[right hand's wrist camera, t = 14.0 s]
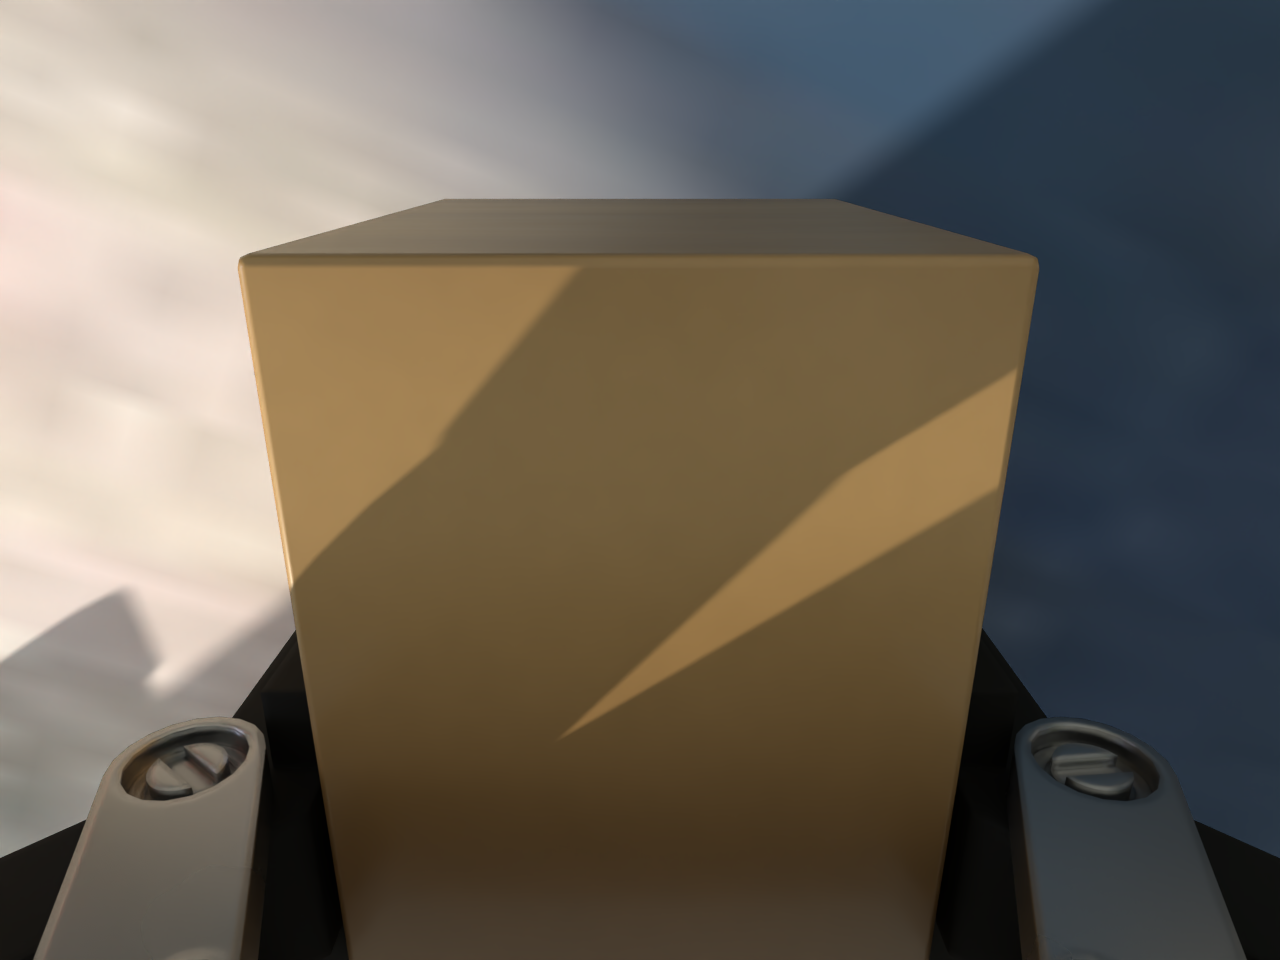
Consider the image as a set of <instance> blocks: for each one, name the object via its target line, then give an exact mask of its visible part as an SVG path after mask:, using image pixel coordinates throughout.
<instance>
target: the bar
mask: <svg viewBox="0 0 1280 960" xmlns="http://www.w3.org/2000/svg"><path fill="white" fill-rule="evenodd" d="M238 273H239V279H240V285H241V291H242V298H243V304H244V310H245V316H246V322H247V329H248V335H249V341H250V347H251V354H252V360H253V366H254V372H255V378H256V385H257V391H258V397H259V403H260V410H261V416H262V422H263V428H264V434H265V441H266V447H267V453H268V459H269V466H270V472H271V478H272V484H273V490H274V497H275V503H276V509H277V515H278V522H279V528H280V534H281V540H282V546H283V553H284V559H285V565H286V571H287V577H288V584H289V590H290V596H291V602H292V609H293V615H294V621H295V627H296V633H297V640H298V646H299V652H300V658H301V665H302V671H303V677H304V683H305V689H306V696H307V702H308V708H309V714H310V721H311V727H312V733H313V739H314V745H315V752H316V758H317V764H318V770H319V776H320V783H321V789H322V795H323V801H324V808H325V814H326V820H327V826H328V832H329V839H330V845H331V851H332V857H333V864H334V870H335V876H336V882H337V888H338V895H339V901H340V907H341V913H342V920H343V926H344V932H345V938H346V944H347V951H348V957H349V960H929V956H930V950H931V944H932V937H933V931H934V925H935V919H936V912H937V906H938V900H939V894H940V887H941V881H942V875H943V868H944V862H945V856H946V850H947V843H948V837H949V831H950V825H951V818H952V812H953V806H954V800H955V793H956V787H957V781H958V774H959V768H960V762H961V756H962V749H963V743H964V737H965V731H966V724H967V718H968V712H969V706H970V699H971V693H972V687H973V680H974V674H975V668H976V662H977V655H978V649H979V643H980V637H981V630H982V624H983V618H984V612H985V605H986V599H987V593H988V586H989V580H990V574H991V568H992V561H993V555H994V549H995V543H996V536H997V530H998V524H999V518H1000V511H1001V505H1002V499H1003V493H1004V486H1005V480H1006V474H1007V467H1008V461H1009V455H1010V449H1011V442H1012V436H1013V430H1014V424H1015V417H1016V411H1017V405H1018V399H1019V392H1020V386H1021V380H1022V373H1023V367H1024V361H1025V355H1026V348H1027V342H1028V336H1029V330H1030V323H1031V317H1032V311H1033V305H1034V298H1035V292H1036V286H1037V279H1038V273H1039V263H1038V259H1037V257H1034V256H1032V255H1030V254H1028V253H1024V252H1021V251H1017V250H1014V249H1010V248H1007V247H1003V246H1000V245H996V244H992V243H989V242H985V241H982V240H978V239H975V238H971V237H968V236H964V235H961V234H957V233H953V232H950V231H946V230H943V229H939V228H936V227H932V226H929V225H925V224H922V223H918V222H915V221H911V220H907V219H904V218H900V217H897V216H893V215H890V214H886V213H883V212H879V211H876V210H872V209H868V208H865V207H861V206H858V205H854V204H851V203H847V202H844V201H840V200H837V199H443V200H439V201H436V202H432V203H429V204H425V205H421V206H418V207H414V208H411V209H407V210H403V211H400V212H396V213H393V214H389V215H385V216H382V217H378V218H375V219H371V220H367V221H364V222H360V223H357V224H353V225H349V226H346V227H342V228H339V229H335V230H331V231H328V232H324V233H321V234H317V235H314V236H310V237H306V238H303V239H299V240H296V241H292V242H288V243H285V244H281V245H278V246H274V247H270V248H267V249H263V250H260V251H256V252H252V253H249V254H247V255H245V256H242V257H240V259H239V264H238Z"/></svg>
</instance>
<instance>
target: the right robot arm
mask: <svg viewBox="0 0 1280 960" xmlns="http://www.w3.org/2000/svg"><path fill="white" fill-rule="evenodd" d="M0 960H349V957H348V951H347V944H346V938H345V932H344V926H343V920H342V913H341V907H340V901H339V895H338V888H337V882H336V876H335V870H334V864H333V857H332V851H331V845H330V839H329V832H328V826H327V820H326V814H325V808H324V801H323V795H322V789H321V783H320V776H319V770H318V764H317V758H316V752H315V745H314V739H313V733H312V727H311V721H310V714H309V708H308V702H307V696H306V689H305V683H304V677H303V671H302V665H301V658H300V652H299V646H298V640H297V633H296V631H295V632H294V633H293V635H292V636H291V637H290V639H289V640H288V642H287V643H286V644H285V646H284V647H283V648H282V650H281V651H280V653H279V654H278V655H277V657H276V658H275V660H274V661H273V662H272V664H271V665H270V666H269V668H268V669H267V671H266V672H265V673H264V675H263V676H262V677H261V679H260V680H259V682H258V683H257V684H256V686H255V687H254V689H253V690H252V691H251V693H250V694H249V695H248V697H247V698H246V700H245V701H244V702H243V704H242V705H241V706H240V708H239V709H238V711H237V712H236V713H235V715H234V716H233V718H227V717H211V718H200V719H194V720H190V721H186V722H182V723H178V724H174V725H171V726H168V727H166V728H163V729H161V730H159V731H156V732H154V733H151V734H149V735H147V736H146V737H144V738H142V739H141V740H139V741H137V742H136V743H134V744H132V745H130V746H129V747H128V748H127V749H125V750H124V751H123V752H122V753H121V754H120V755H119V756H118V757H116V758H115V759H114V760H113V761H112V763H111V764H110V766H109V768H108V769H107V771H106V772H105V774H104V775H103V778H102V780H101V783H100V786H99V788H98V791H97V793H96V796H95V799H94V801H93V804H92V807H91V809H90V812H89V815H88V817H87V820H85V821H82V822H80V823H78V824H76V825H73V826H71V827H69V828H67V829H64V830H62V831H60V832H58V833H56V834H53V835H51V836H49V837H47V838H44V839H42V840H40V841H38V842H35V843H33V844H31V845H29V846H26V847H24V848H22V849H20V850H17V851H15V852H13V853H11V854H8V855H6V856H4V857H2V858H0ZM929 960H1280V858H1278V857H1276V856H1273V855H1271V854H1269V853H1267V852H1264V851H1262V850H1260V849H1258V848H1255V847H1253V846H1251V845H1249V844H1246V843H1244V842H1242V841H1240V840H1237V839H1235V838H1233V837H1231V836H1228V835H1226V834H1224V833H1222V832H1219V831H1217V830H1215V829H1213V828H1211V827H1208V826H1206V825H1204V824H1202V823H1199V822H1197V821H1195V820H1193V817H1192V815H1191V812H1190V809H1189V807H1188V804H1187V801H1186V799H1185V796H1184V794H1183V791H1182V788H1181V786H1180V783H1179V780H1178V778H1177V775H1176V774H1175V772H1174V771H1173V769H1172V768H1171V766H1170V764H1169V763H1168V761H1167V760H1166V759H1165V758H1164V757H1162V756H1161V755H1160V754H1159V753H1158V752H1157V751H1156V750H1155V749H1153V748H1152V747H1151V746H1150V745H1148V744H1146V743H1144V742H1143V741H1141V740H1139V739H1138V738H1136V737H1134V736H1133V735H1131V734H1129V733H1126V732H1124V731H1121V730H1119V729H1117V728H1114V727H1112V726H1109V725H1106V724H1102V723H1098V722H1094V721H1090V720H1086V719H1080V718H1069V717H1053V718H1047V717H1046V716H1045V714H1044V713H1043V711H1042V710H1041V709H1040V707H1039V706H1038V705H1037V703H1036V702H1035V700H1034V699H1033V698H1032V696H1031V695H1030V693H1029V692H1028V691H1027V689H1026V688H1025V687H1024V685H1023V684H1022V682H1021V681H1020V680H1019V678H1018V677H1017V676H1016V674H1015V673H1014V671H1013V670H1012V669H1011V667H1010V666H1009V664H1008V663H1007V662H1006V660H1005V659H1004V658H1003V656H1002V655H1001V653H1000V652H999V651H998V649H997V648H996V647H995V645H994V644H993V642H992V641H991V640H990V638H989V637H988V635H987V634H986V633H985V631H984V630H983V629H982V630H981V637H980V643H979V649H978V655H977V662H976V668H975V674H974V680H973V687H972V693H971V699H970V706H969V712H968V718H967V724H966V731H965V737H964V743H963V749H962V756H961V762H960V768H959V774H958V781H957V787H956V793H955V800H954V806H953V812H952V818H951V825H950V831H949V837H948V843H947V850H946V856H945V862H944V868H943V875H942V881H941V887H940V894H939V900H938V906H937V912H936V919H935V925H934V931H933V937H932V944H931V950H930V956H929Z"/></svg>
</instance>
